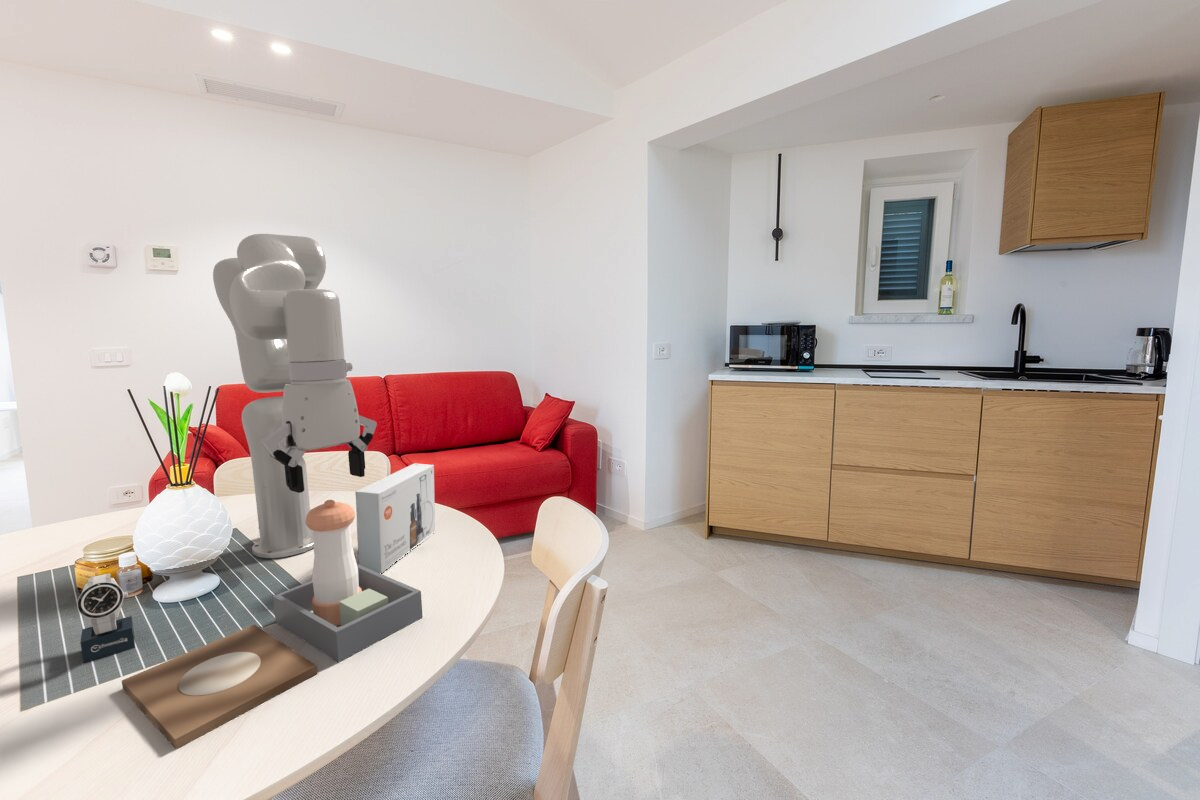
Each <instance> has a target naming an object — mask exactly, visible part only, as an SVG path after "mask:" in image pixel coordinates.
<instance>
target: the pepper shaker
mask: <svg viewBox="0 0 1200 800" xmlns="http://www.w3.org/2000/svg"><path fill="white" fill-rule="evenodd" d="M355 517H356V513H355V510H354V508H353V507H352V506H351V504H348V503H345V502H340V501H335V500H333V499H328V500H324V502H323V503H322V504H319V505H317V506H315V507H313V508H310V511H309V513H308V514H307V516H306V522H305V523H306V525H307V526H308V528H309V529H310V530H312V533H313V545H314V548H313V555H314V556H313V566H312V567H313V568H312V569H313V570H312V579H311V581H313V588H314V597H313V599H312V605H313V609H312V613H313V614H315V615H317V616H318V617H320V618H322V619H324V620H326V621H327V622H329V623H331V624H333V625H334V626H336V627H339V626H341V619H340V607H339V601H342V600H344V599H346V598H348V597H351V596H353V595H355V594H357V593H360V592H362V589H361V588H360V587H359V579H358V567H357V564H358V563H357V560H356V557H355V552H354V549H353V540H352V531H351V530H352V529H351V528H352V527H351V524H352V523H353V522H354V520H355Z"/></svg>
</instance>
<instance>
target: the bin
mask: <svg viewBox="0 0 1200 800" xmlns="http://www.w3.org/2000/svg"><path fill="white" fill-rule="evenodd" d="M357 567H358V579H359V587H360V588H361V589H362V591H364V590H367V589H371V590H374V591H376V592H378V593H380V594H382V595H385V596H387V597H388V603H389V604H387V605H385V606H383V607H381V608H379V609H377V610H374V611H372V612H370V613H368V614H366V615H364V616H362V617H360V618H358V619H356V620H354V621H352V622H350V623H347V624H345V625H343V626H341V625H340V626H334V625H333V624H331V623H329V622H327V621H326V620H324V619H322V618H320V617H318V616H317V615H315V614H313V612H312V611H313V605H312V599H313V597H314V588H313V581H312V580H310V581H308V582H305V583H302V584H300V585H297V586H295V587H293V588H290V589H287V590H285V591H282V592H280V593H277V594H274V595H272V599H273V601H272V602H273V610H274V619H275V624H277V625H278V626H280V627H281V628H283V629H284V630H287V631H288V632H289V633H291V634H293V635H295V636H296V637H298V638H299V639H301V640H303V641H304V642H306V643H307V644H308V645H311V646H312V647H314V648H316V649H317V650H318V651H320V652H321V653H323V654H325V655H326V656H328V657H330V658H331V659H333V660H334V661H336V662H338V663H340V662H342V661H344V660H346V659H348V658H349V657H351V656H353V655H355V654H357V653H359V652H361V651H362V650H364V649H366V648H368V647H370V646H373V645H374V644H376V643H378V642H379V641H381V640H383V639H386V638H387V637H389V636H391V635H392V634H395V633H397V632H398V631H400V630H402V629H404V628H405V627H407V626H409V625H411V624H413V623H415V622H417V621H418V619H419V620H420V618H421V619H422V617H423V603H422V602H423V601H422V591H421V590H419V589H418V588H414V587H413V586H410V585H408V584H406V583H403V582H401V581H398V580H396V579H394V578H391V577H389V576H387V575H384V574H383V573H382V574H380V573H378V572H375V571H373V570H371V569H368V568H366V567H364V566H361V565H359V564H358V563H357ZM416 620H417V621H416Z"/></svg>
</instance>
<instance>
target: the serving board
mask: <svg viewBox="0 0 1200 800" xmlns="http://www.w3.org/2000/svg"><path fill="white" fill-rule="evenodd" d="M318 673H319V672H318V666H317V664H315V663H314V662H312V661H311V660H309V659H307V658H306V657H305V656H303V655H302V654H300V653H299V652H297V651H296V650H294V649H293V648H291V647H290V646H288V645H287V644H285V643H283V642H282V641H280V640H279V639H278V638H277V637H274V636H273V635H272V634H270V633H268V632H267V631H265V630H264V629H262V628H261V627H259V626H257V625H256V624H252V625H249V626H247V627H245V628H242V629H240V630H237V631H235V632H234V633H231V634H229V635H226V636H223V637H221V638H220V639H216V640H214V641H211V642H210V643H207V644H205V645H202V646H200V647H198V648H196V649H193V650H191V651H189V652H186V653H183V654H181V655H179V656H176V657H174V658H172V659H169V660H167V661H165V662H162V663H160V664H157V665H155V666H153V667H150V668H148V669H144V670H143V671H141V672H138V673H136V674H134V675H132V676H129V677H127V678H124V679H122V680H121V686H122V690H123V691H124V692H125V693H126V695H127V696H128V697H129V698H130V699H131V700H132V701H133V702H134V703H135V705H136V706H137V707H138V708H139V709H140V710H141V711H142V712H143V714H144V715H145V716H147V719H149V720H150V721H151V723H152V724H155V725H156V726H157V727H158V728H159V729H160V730H161V731H162V732H161V731H160V730H159V729H158V728H157V727H156V726H155V727H156V728H157V729H158V730H159V731H160V732H161V733H162V735H163V734H164V735H165V736H166V737H167V738H166V737H165V736H164V735H163V736H164V737H165V738H166V739H167V740H168V741H169V743H170V744H172V746H173V747H174V748H175V749H176V750H178V749H179V748H181V747H183V746H185V745H187V744H188V743H191V742H193V741H195V740H196V739H198V738H201V737H202V736H203V735H204V736H205V734H207V733H209V732H211V731H214V730H215V729H217V728H218V727H220V726H223V725H224V724H226V723H228V722H229V721H232V720H234V719H235V718H237V717H240V716H241V715H243V714H245V713H247V712H248V711H251V710H252V709H254V708H256V707H258V706H260V705H262V704H264V703H266V702H267V701H269V700H271V699H273V698H275V697H277V696H279V695H281V694H282V693H285V692H286V691H288V690H290V689H291V688H293V687H295V686H297V685H300V684H302V683H303V682H305V681H307V680H309V679H310V678H312V677H314V676H316V675H318Z"/></svg>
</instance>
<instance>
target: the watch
mask: <svg viewBox="0 0 1200 800" xmlns="http://www.w3.org/2000/svg"><path fill="white" fill-rule="evenodd" d="M121 587H122V586H121ZM121 587H120V585H119V584H118V582H117V581H116V580H115V578H114V577H111V573H110V572H108V573H105V574H100V575H95V576H91V577H90V576H89V577H88V581H87V583H85V584H84V585H83V588H82V591H81V593H80V595H79V596H78V599H77V602H76V605H77V606H76V608H77V610H78V612H79V614H80V615H82V616H83V619H85V621H86V623H87V624H88V626H90V627H85V628H83V629H81V636H80V642H79V643H80V649H81V653H82V662H83V664H85V663H88V662H91V661H96V660H97V659H101V658H105V657H108V656H112V655H115V654H118V653H122V652H126V651H128V650H132V649H135V648H136V646H135V645H136V641H135V636H136V635H135V630H134V622H133V617H132V615H130V616H126V617H123V618H119V615H120V612H121V608H122V606H123V603H124V599H125V598H128V597H129V593H128V591H123V589H122V588H121ZM118 618H119V619H118Z"/></svg>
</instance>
